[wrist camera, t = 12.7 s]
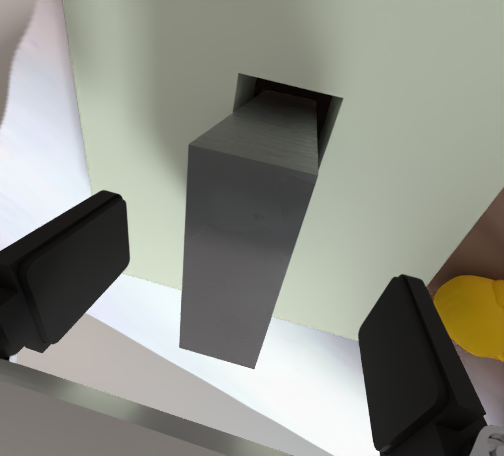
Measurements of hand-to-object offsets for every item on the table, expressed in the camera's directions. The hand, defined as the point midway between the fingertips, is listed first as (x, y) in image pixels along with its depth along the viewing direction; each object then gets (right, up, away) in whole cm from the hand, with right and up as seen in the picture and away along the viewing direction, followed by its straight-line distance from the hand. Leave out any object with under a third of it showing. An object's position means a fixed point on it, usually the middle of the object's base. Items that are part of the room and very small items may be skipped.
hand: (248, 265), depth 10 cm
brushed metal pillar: (+2, +6, +9) cm, 11 cm away
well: (+2, +6, +9) cm, 11 cm away
